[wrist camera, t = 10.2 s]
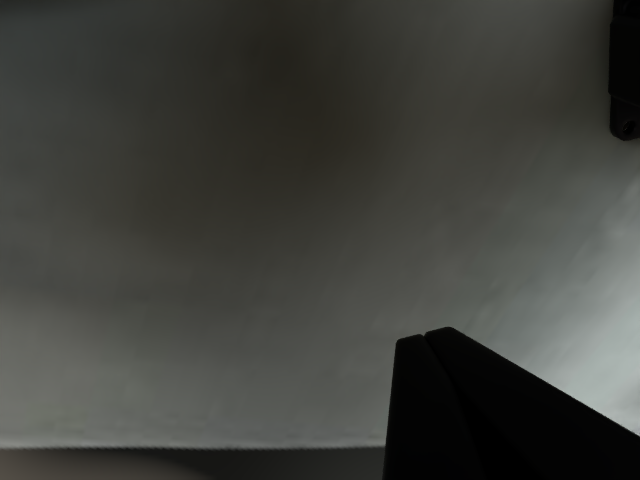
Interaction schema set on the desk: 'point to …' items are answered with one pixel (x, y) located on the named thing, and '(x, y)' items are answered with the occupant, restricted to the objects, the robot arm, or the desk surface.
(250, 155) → the desk surface
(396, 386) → the robot arm
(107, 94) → the desk surface
